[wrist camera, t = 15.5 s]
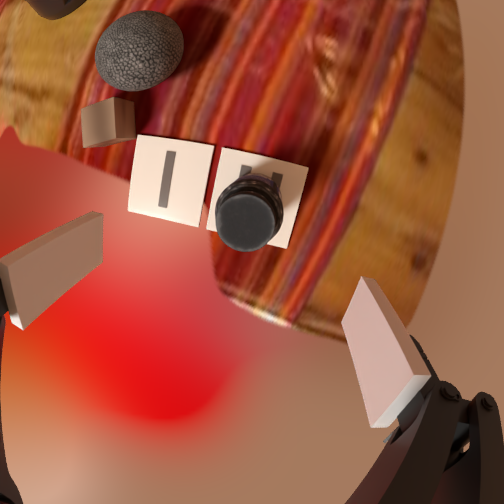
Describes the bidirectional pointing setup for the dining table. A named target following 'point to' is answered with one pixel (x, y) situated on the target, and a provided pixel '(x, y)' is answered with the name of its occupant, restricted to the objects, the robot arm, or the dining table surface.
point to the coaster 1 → (169, 179)
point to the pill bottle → (249, 212)
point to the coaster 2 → (279, 171)
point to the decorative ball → (139, 50)
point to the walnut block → (108, 122)
